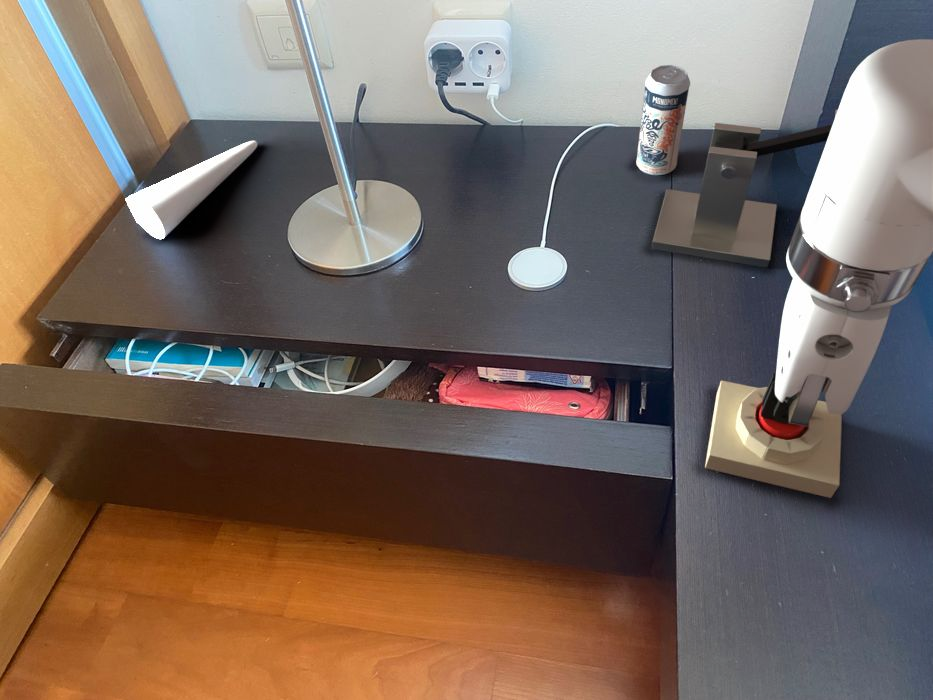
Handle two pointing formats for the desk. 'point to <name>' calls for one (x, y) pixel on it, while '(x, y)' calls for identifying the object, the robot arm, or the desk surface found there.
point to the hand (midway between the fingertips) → (781, 413)
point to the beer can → (662, 119)
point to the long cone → (183, 191)
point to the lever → (779, 141)
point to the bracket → (720, 209)
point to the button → (779, 428)
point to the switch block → (773, 444)
